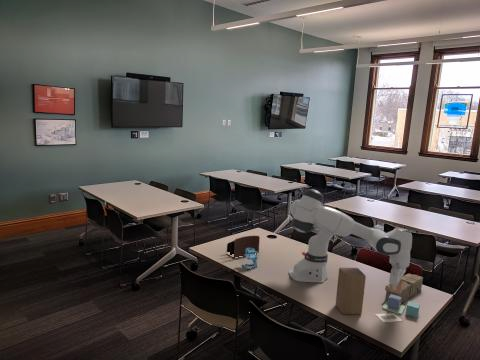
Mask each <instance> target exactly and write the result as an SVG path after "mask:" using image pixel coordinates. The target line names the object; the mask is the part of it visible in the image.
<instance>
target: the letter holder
mask: <svg viewBox="0 0 480 360" xmlns="http://www.w3.org/2000/svg"><path fill="white" fill-rule="evenodd" d="M247 248H252V249H255V250H254V251H256V252H258V253H259V254H260V235H245V236H241V237H239V238H238V237H237V238H235V239H234V240H232V241H230V242H228V243H226V253H227V252H230V255H232V254H234V258H235V257H239V256H244V254H246V251H245V249H247ZM249 250H251V249H249ZM247 254H248V252H247ZM250 254H253V253H250ZM254 254H255V253H254Z"/></svg>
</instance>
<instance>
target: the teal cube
mask: <svg viewBox="0 0 480 360" xmlns="http://www.w3.org/2000/svg"><path fill="white" fill-rule="evenodd" d="M420 307H421V304H420V303H417V302H413V301H410V300H409V301H408V302H407V305H406V307H405V308H406V310H405V315H406V316H409V317H412V318H416V319H417V318H418V316H419V314H420Z"/></svg>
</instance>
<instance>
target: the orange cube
mask: <svg viewBox="0 0 480 360" xmlns="http://www.w3.org/2000/svg"><path fill="white" fill-rule="evenodd" d="M389 284H390V283H389ZM402 289H403V280H400V281H399V283H398V285H397V290H393V285H392V284H390V290H389V291H392V292H396V293H399V294H400V293H401V292H402Z"/></svg>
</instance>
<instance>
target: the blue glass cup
mask: <svg viewBox="0 0 480 360" xmlns="http://www.w3.org/2000/svg"><path fill="white" fill-rule="evenodd" d="M249 249H251V250H249ZM254 250H255V249H252V248H247V249H245V251H246V254H244V256H245V257H244V258H246V259H247V260H249V261H250V260H251V261H252V263H242V264H243V265H242V267H243V266H244V267H245V268H246V269H249V270H251V269H250V268H252V269H255V268H254V267H256V268H258V262H257V260H258V259H259V257H258V255H257V253H258V252H256V251H254ZM247 252H248V254H247ZM250 253H253V254H250ZM254 253H256V255H255V254H254ZM244 264H245V265H244ZM247 265H255V266H249V267H248V266H247ZM244 267H243V268H244ZM245 268H244V269H245ZM246 269H245V270H246Z"/></svg>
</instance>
